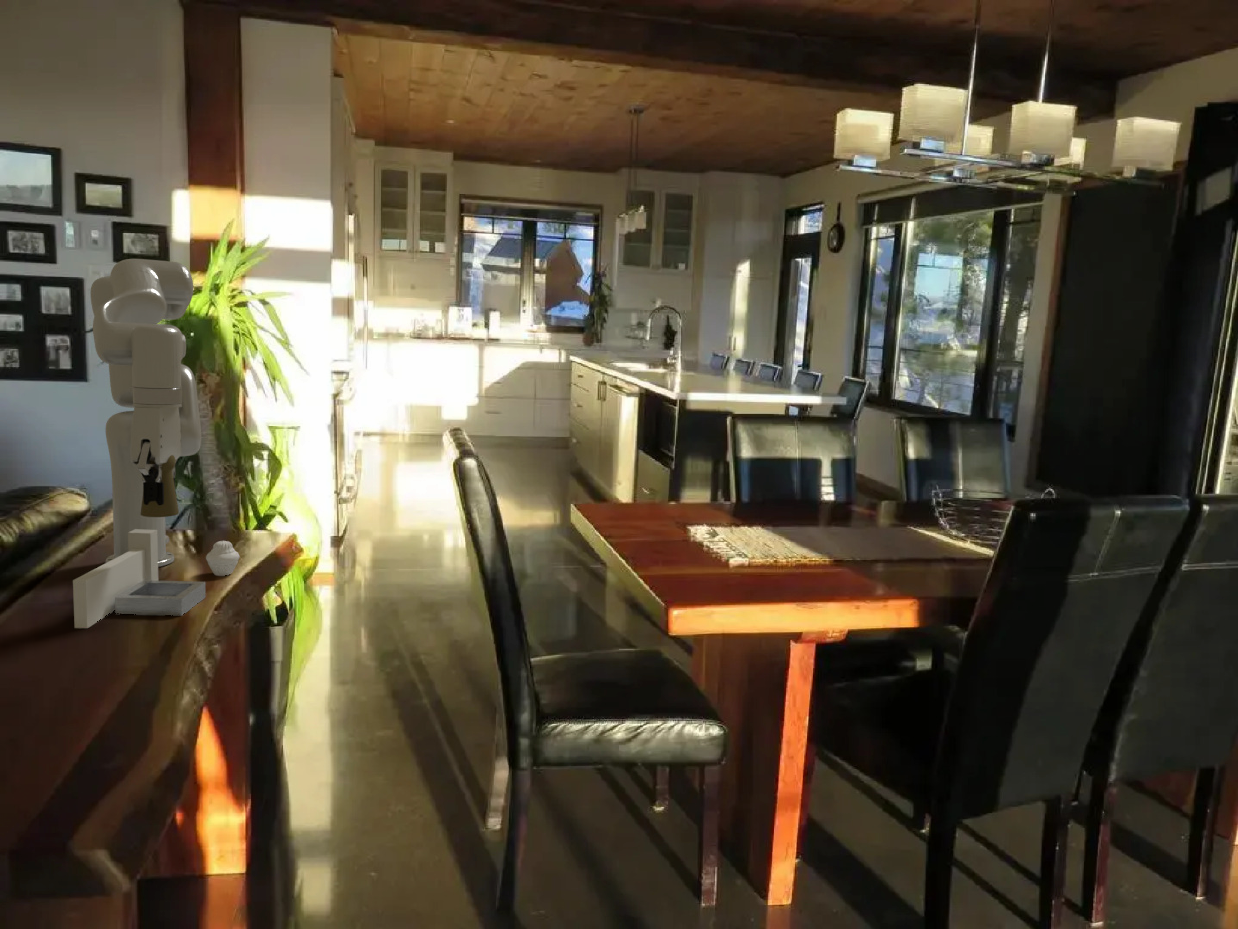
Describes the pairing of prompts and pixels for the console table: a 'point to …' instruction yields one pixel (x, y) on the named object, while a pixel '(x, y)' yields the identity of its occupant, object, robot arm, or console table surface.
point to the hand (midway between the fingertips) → (159, 501)
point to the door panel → (115, 578)
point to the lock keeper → (160, 598)
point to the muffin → (222, 558)
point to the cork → (169, 494)
